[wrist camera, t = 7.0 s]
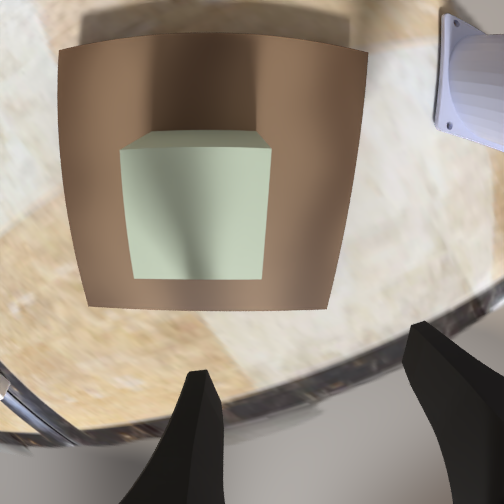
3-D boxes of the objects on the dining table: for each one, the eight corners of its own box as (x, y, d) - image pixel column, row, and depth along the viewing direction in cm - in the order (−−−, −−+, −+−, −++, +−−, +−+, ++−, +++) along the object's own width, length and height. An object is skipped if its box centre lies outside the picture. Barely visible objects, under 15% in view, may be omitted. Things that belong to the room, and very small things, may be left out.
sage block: (256, 131, 13) (271, 148, 9) (250, 226, 15) (261, 279, 11) (151, 131, 12) (119, 149, 8) (156, 226, 14) (134, 278, 10)
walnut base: (347, 56, 13) (368, 52, 11) (316, 285, 20) (326, 309, 18) (80, 54, 12) (58, 50, 10) (100, 282, 18) (88, 306, 16)
